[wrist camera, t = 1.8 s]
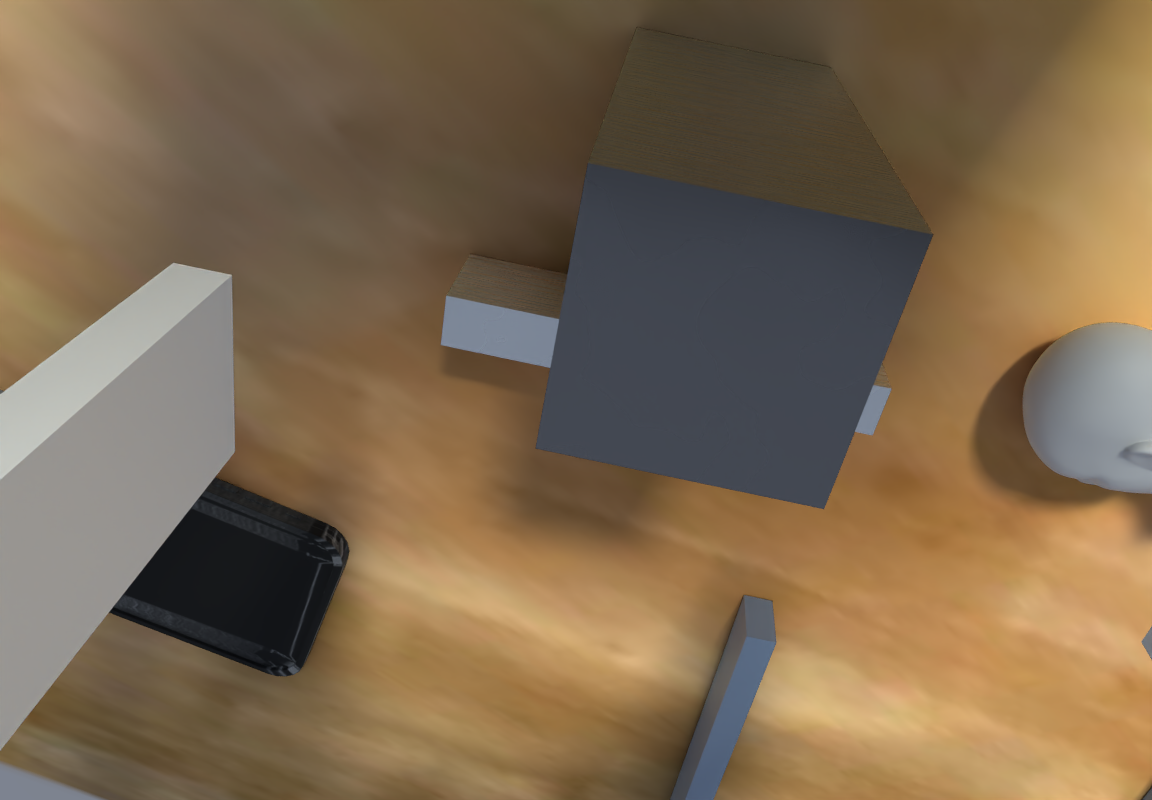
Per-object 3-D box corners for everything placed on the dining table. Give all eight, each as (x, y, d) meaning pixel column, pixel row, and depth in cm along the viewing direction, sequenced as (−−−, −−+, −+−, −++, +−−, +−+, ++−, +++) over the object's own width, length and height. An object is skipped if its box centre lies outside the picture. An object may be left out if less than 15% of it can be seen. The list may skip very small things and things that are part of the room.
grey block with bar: (500, -1, 24) (347, 113, 13) (966, 95, 23) (1175, 284, 13) (464, 299, 28) (327, 560, 18) (856, 381, 28) (948, 691, 18)
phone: (295, 684, 36) (-85, 538, 35) (305, 662, 37) (-63, 520, 36) (351, 547, 32) (-75, 374, 31) (361, 526, 33) (-52, 358, 32)
